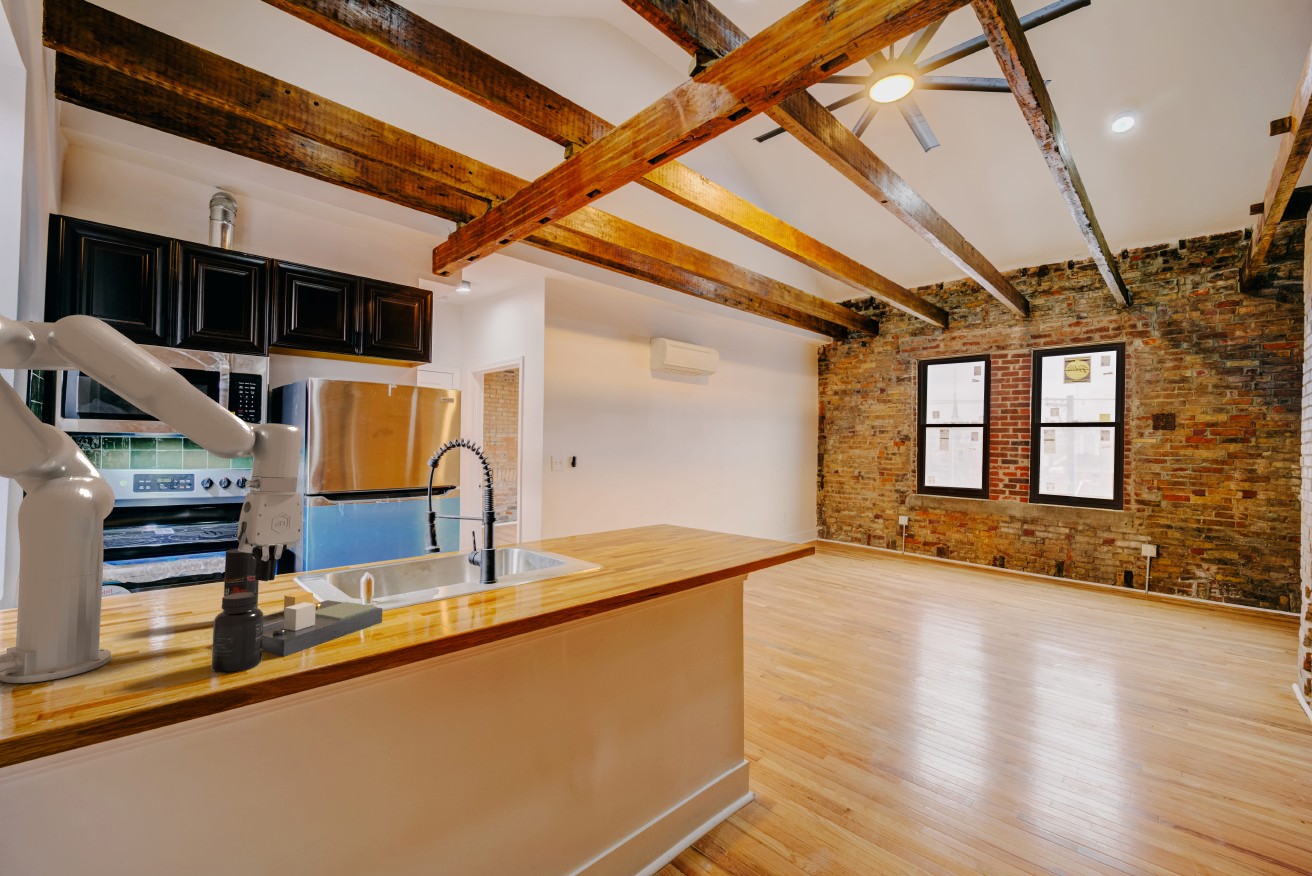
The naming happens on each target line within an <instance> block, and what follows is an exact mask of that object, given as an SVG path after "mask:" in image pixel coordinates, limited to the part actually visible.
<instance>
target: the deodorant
mask: <svg viewBox="0 0 1312 876" xmlns="http://www.w3.org/2000/svg"><path fill="white" fill-rule="evenodd" d="M224 561H225V562H224V582H223V583H224V584H223V585H224V586H223V597H224V596H226V595H230V594H235V593H244V592H253V593H257V601H258V603H257V605H256V606H255V607H256V608H258V605H259V583H260V582H259V581H260V580H256V579H255V568H256V559H254V558H253V556H252V555H251V554H250V553H246V552H239V551H238V548H234V549H233V548H232V549H227V550H226V551H225V559H224ZM258 609H259V608H258Z"/></svg>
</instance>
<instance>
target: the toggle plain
mask: <svg viewBox="0 0 1312 876" xmlns="http://www.w3.org/2000/svg"><path fill="white" fill-rule="evenodd" d="M315 610H316V604H312V603H305V602H304V603H300V604H296V605H293V606H289V607H285V617H284V629H288V630H293V631H297V630H300V629H303V628H306V627H309V626H313V625H315Z"/></svg>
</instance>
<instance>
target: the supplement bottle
mask: <svg viewBox="0 0 1312 876" xmlns="http://www.w3.org/2000/svg"><path fill="white" fill-rule="evenodd" d="M257 603H258V604H259V600H258V601H257V593H253V592H244V593H235V594H230V595H226V596H224V595H223V597H222V598H221V605H220V606H221V607H220V608H221V609H222V611H221V612H220V613H218V614H217V615H216V616H215V617H214V619H213V627H212V628H213V630H212V632H213V633H212V649H211V650H212V651H211V669H212V671H213V672H215V673H217V674H234V673H239V672H245V671H247V670H250V669H253V668H255V667H257V666H258V665H260V663H261V662H262V658H263V657H262V656H263V652H262V641H263V616H264V612H263V610H262V609H260V608H256V607H255V606H256V605H257Z"/></svg>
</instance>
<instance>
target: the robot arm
mask: <svg viewBox="0 0 1312 876" xmlns="http://www.w3.org/2000/svg"><path fill="white" fill-rule="evenodd" d="M2 369H3V370H30V371H31V370H34V371H36V370H37V371H38V370H39V371H80V372H82V374H85V375H86V376H88V377H90V378H91V379H92V380H94V381H96V382H98V384H101V385H102V386H104V387H105V388H107V389H108V390H110V391H112V392H113V393H114V394H116V395H118V396H119V397H120V398H122V399H123V400H125V401H127V402H128V403H130V404H131V405H133V406H134V407H136V408H138V409H139V410H140V411H142V412H143V413H146V414H148V415H150V416H152V417H154V418H156V419H158V420H159V421H161V422H162V423H164V424H165V425H167V426H168V427H170V428H172V429H173V430H174V431H176V432H177V433H179V434H181V436H182V435H183V436H184V437H185V438H187V439H189V440H190V441H192V442H193V443H194V444H197V445H198V446H199V447H201V448H203V449H204V450H205V451H207V452H209V453H210V454H211V455H214V456H215V457H218V458H221V459H226V460H233V459H238V458H253V460H252V461H253V463H252V471H251V472H252V473H251V478H250V479H249V480H248V479H247V480H246V481H245V487H246V488H249V490H250V491H249V492H246V495H245V498H244V501H243V504H242V507H241V511H240V515H239V520H238V525H237V526H238V527H237V542H238V543H239V544H238V548H237V549H238V551H239V552H246V553H250V554H251V555H252V556H253V558H254V559H256V568H255V579H256V580H259V581H261V582H269V581H274V580H275V578H276V577H275V576H276V573H277V564H278V560H279V559H281V557H282V554H283V553H284V552H285V551H286V550H288V549H290V548H294V547H295V546H296V545H297V542H299V541H300V539H301V537H302V531H303V530H302V529H303V505H302V498H301V493H300V492H299V493H298V492H297V488H298V477H299V469H300V468H299V467H300V459H301V457H300V456H301V449H302V447H301V446H302V439H303V438H302V437H303V435H302V434H303V432H302V429H301V428H300V427H298V426H297V425H292V424H285V423H284V424H282V423H271V422H270V423H262V424H261V423H260V424H259V423H253V422H252V423H251V422H247V421H244V420H243V419H242V418H240V417H239V416H237V415H236V414H234V413H233V412H231V411H230V410H229V409H227V408H225V407H224V406H223V405H221V404H220V403H218V402H216V401H215V400H214V399H212V398H211V397H209V396H207V394H205V393H204V392H202V391H201V390H199V388H197V387H195V386H194V385H193V384H191V383H190V382H189V381H188V380H187V379H186V378H185V377H184V376H183V375H181V374H180V373H179V372H177V371H176V370H175V369H173V368H171V366H169V365H167V364H166V363H164V362H163V361H161V360H160V359H158V358H157V357H155V356H154V355H153V354H151V353H149V352H148V351H147V350H146V349H144V348H143V347H141V346H139V345H138V344H137V343H135V342H134V341H132V340H131V339H130V338H128V337H126V336H125V335H124V334H123V333H121V332H119V330H117V329H115V328H114V327H112V326H111V325H110V324H108V323H106V322H104V321H102V320H101V319H99V318H96V317H94V316H90V315H87V314H85V315H84V314H74V315H68V316H65V317H62V318H60V319H58V320H57V321H56V322H45V321H43V322H41V321H26V320H12V319H10V318H8V317H6V316H5V315H2V314H0V370H2ZM0 477H1V478H4V479H13V480H15V482H16V483H17V484H18V485H19V487H21V488H22V490H23V492H25V493H26V494H25V496H24V497H23V499H22V501H21V503H20V505H19V509H18V513H17V528H18V538H19V573H18V579H19V581H18V597H17V618H16V619H17V620H16V637H15V646H11V647H8V648H6V653H4V654H3V653H2V654H0V681H1V682H4V683H7V684H8V683H9V684H28V683H30V684H31V683H39V682H47V681H53V680H57V679H62V678H66V677H71V676H76V675H79V674H82V673H86V672H89V671H93V670H95V669H97V668H98V669H99V668H100V667H102V666H104V665H105V664H107V663H108V662H110V661H111V659H112V652H111V651H110V650H109V649H105V648H100V638H101V635H100V634H101V621H102V620H101V617H102V616H101V615H102V597H103V594H102V593H103V577H104V570H103V569H104V564H103V563H104V520H105V519H106V518H107V517H108V516H109V515H110V514H111V513H112V512H113V508H114V507H115V502H116V501H115V500H116V497H115V492H114V491H113V488H112V487H111V486H110V484H109V483H108V482H107V480H106V479H105V478H104V476H103V475H102V474H101V473H100V472H99V470H98V469H97V468H96V466H94V464H93V462H92V461H91V460H90V459H89V458H88V456H87V455H86V454H85V452H84V451H83V450H82V449H81V448H80V446H79V445H78V444H77V443H76V442H75V441H74V439H73V438H71V436H70V435H69V434H68V433H66V432H65V431H63V430H62V429H60V428H59V427H56V426H55V425H51V424H49V423H44V422H42V421H41V420H40V419H39V418H38V417H37V416H36V415H35V414H34V412H32V410H31V409H30V408H29V407H28V406H27V404H26V403H25V402H24V401H23V399H22V397H21V396H20V395H19V393H18V392H17V390H15V388H13V387H12V385H11V384H10V383H9V382H8V381H7V380H6V379H5V378H4V377H3V375H2V374H1V373H0Z"/></svg>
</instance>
